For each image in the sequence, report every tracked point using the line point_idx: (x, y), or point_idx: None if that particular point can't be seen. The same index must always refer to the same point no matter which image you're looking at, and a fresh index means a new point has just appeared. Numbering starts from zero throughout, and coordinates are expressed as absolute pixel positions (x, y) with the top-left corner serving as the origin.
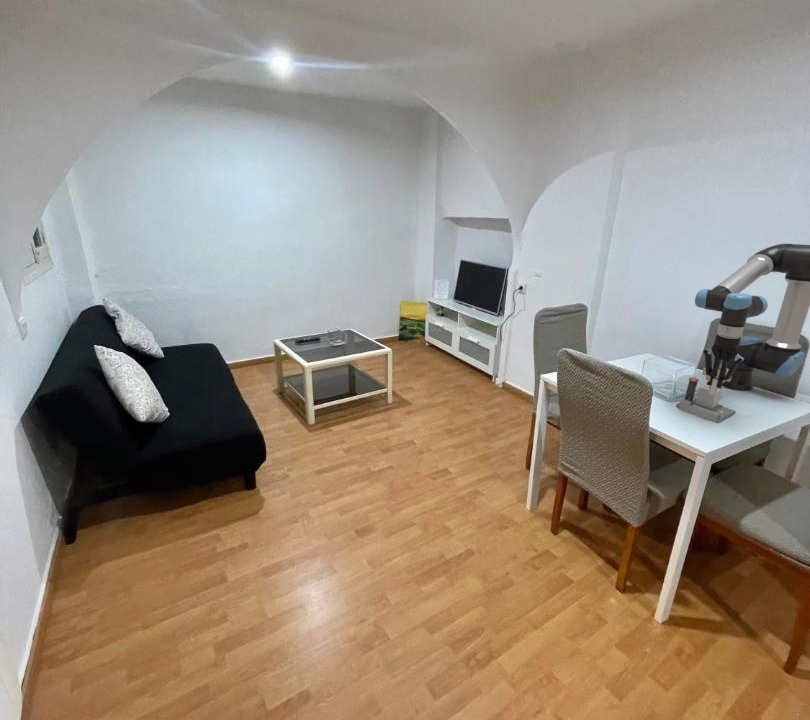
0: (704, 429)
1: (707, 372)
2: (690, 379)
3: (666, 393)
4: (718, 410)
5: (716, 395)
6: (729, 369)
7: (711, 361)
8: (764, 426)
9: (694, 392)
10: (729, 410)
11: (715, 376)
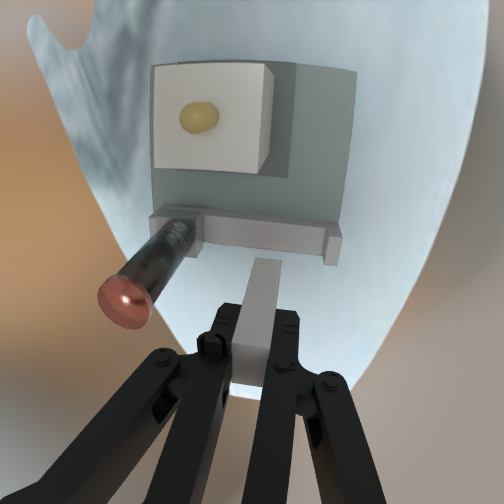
0: (307, 324)
1: (166, 399)
2: (118, 324)
3: (77, 106)
4: (299, 139)
5: (262, 141)
6: (321, 498)
7: (109, 457)
8: (462, 129)
9: (177, 262)
10: (335, 95)
11: (229, 374)
